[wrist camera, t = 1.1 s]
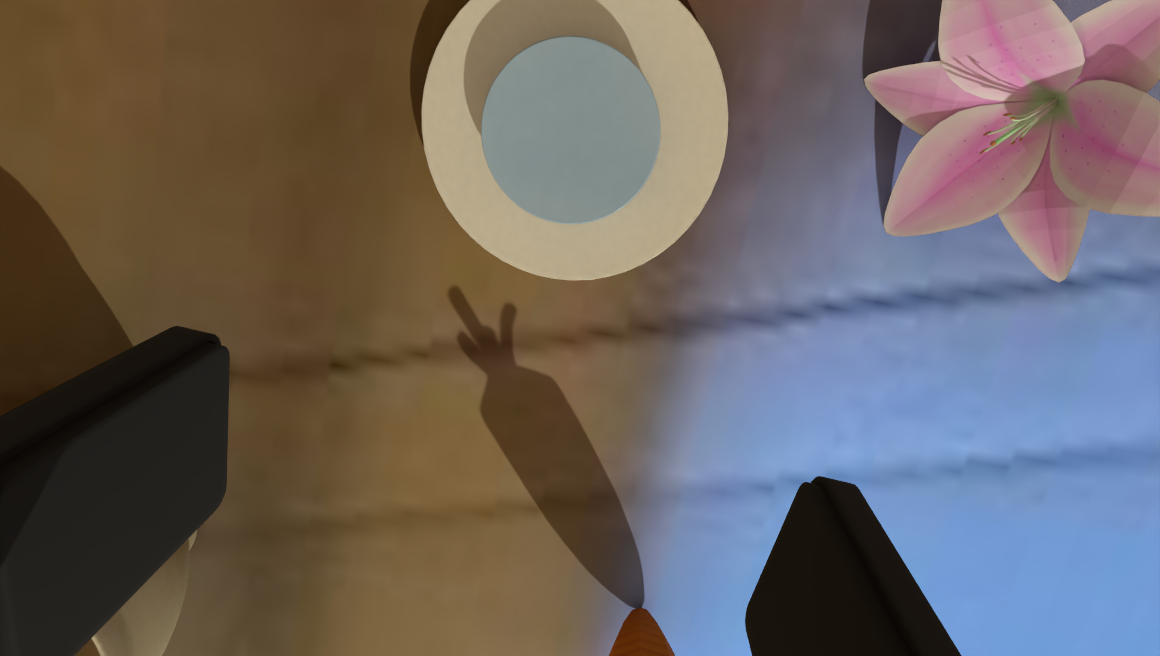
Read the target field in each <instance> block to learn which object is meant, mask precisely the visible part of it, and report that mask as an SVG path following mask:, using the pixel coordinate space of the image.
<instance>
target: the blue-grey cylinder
mask: <svg viewBox="0 0 1160 656" xmlns="http://www.w3.org/2000/svg"><path fill="white" fill-rule="evenodd" d="M660 137H661V124H660V116H659V110H658V106H657V103H656V99H655V96H654V94H653V92H652V89H651V87H650V85H649V83H648V82H647V80H646V78H645V76H644V75H643V74H642V72H641V71H640V70H639V69H638V67H637V66H636V65H635V64H634V63H633V62H632V61H631V60H630V59H629V58H628V57H627V56H625V55H624V54H623V53H621V52H620V51H619V50H617V49H615V48H614V47H612V46H610V45H608V44H606V43H604V42H601V41H599V40H596V39H592V38H588V37H583V36H572V35H570V36H557V37H552V38H548V39H544V40H542V41H539V42H536V43H534V44H532V45H530V46H528V47H526V48H525V49H523V50H522V51H520V52H519V53H518V54H516V55H515V56H514V57H513V58H512V59H511V60H510V61H509V62H507V63H506V64H505V66H504V67H503V68H502V69H501V71H500V72H499V73H498V75H497V76H496V78H495V80H494V81H493V83H492V85H491V87H490V89H489V92H488V94H487V96H486V100H485V103H484V107H483V112H482V119H481V139H482V147H483V151H484V156H485V159H486V162H487V164H488V167H489V170H490V172H491V174H492V175H493V177H494V179H495V181H496V182H497V184H498V185H499V187H500V188H501V190H502V191H503V192H504V193H505V194H506V195H507V196H508V198H509V199H511V200H512V201H513V202H514V203H515V204H516V205H517V206H519V207H520V208H522V209H523V210H525V211H526V212H528V213H530V214H532V215H533V216H535V217H538V218H540V219H543V220H546V221H549V222H554V223H558V224H569V225H570V224H584V223H590V222H594V221H597V220H600V219H603V218H605V217H607V216H610V215H612V214H614V213H615V212H617V211H618V210H620V209H621V208H623V207H624V206H625V205H627V204H628V203H629V202H630V201H631V200H632V199H633V198H634V197H635V196H636V195H637V194H638V193H639V192H640V190H641V189H642V187H643V186H644V185H645V183H646V182H647V180H648V178H649V176H650V174H651V172H652V170H653V167H654V165H655V162H656V159H657V155H658V151H659V146H660Z"/></svg>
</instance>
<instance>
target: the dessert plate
mask: <svg viewBox="0 0 1160 656" xmlns="http://www.w3.org/2000/svg"><path fill="white" fill-rule="evenodd" d="M570 35H572V36H583V37H588V38H592V39H596V40H599V41H601V42H604V43H606V44H608V45H610V46H612V47H614V48H615V49H617V50H619V51H620V52H621V53H623V54H624V55H625V56H627V57H628V58H629V59H630V60H631V61H632V62H633V63H634V64H635V65H636V66H637V67H638V69H639V70H640V71H641V72H642V74H643V75H644V76H645V78H646V80H647V82H648V83H649V85H650V87H651V89H652V92H653V94H654V96H655V99H656V103H657V106H658V110H659V116H660V124H661V137H660V146H659V151H658V155H657V159H656V162H655V165H654V167H653V170H652V172H651V174H650V176H649V178H648V180H647V182H646V183H645V185H644V186H643V187H642V189H641V190H640V192H639V193H638V194H637V195H636V196H635V197H634V198H633V199H632V200H631V201H630V202H629V203H628V204H627V205H625V206H624V207H623V208H621V209H620V210H618V211H617V212H615V213H614V214H612V215H610V216H607V217H605V218H603V219H600V220H597V221H594V222H590V223H584V224H570V225H569V224H558V223H554V222H549V221H546V220H543V219H540V218H538V217H535V216H533V215H532V214H530V213H528V212H526V211H525V210H523V209H522V208H520V207H519V206H517V205H516V204H515V203H514V202H513V201H512V200H511V199H509V198H508V196H507V195H506V194H505V193H504V192H503V191H502V190H501V188H500V187H499V185H498V184H497V182H496V181H495V179H494V177H493V175H492V174H491V172H490V170H489V167H488V164H487V162H486V159H485V156H484V151H483V147H482V139H481V119H482V112H483V107H484V103H485V100H486V96H487V94H488V92H489V89H490V87H491V85H492V83H493V81H494V80H495V78H496V76H497V75H498V73H499V72H500V71H501V69H502V68H503V67H504V66H505V64H506V63H507V62H509V61H510V60H511V59H512V58H513V57H514V56H515V55H516V54H518V53H519V52H520V51H522V50H523V49H525V48H526V47H528V46H530V45H532V44H534V43H536V42H539V41H542V40H544V39H548V38H552V37H557V36H570ZM421 113H422V136H423V143H424V151H425V154H426V158H427V162H428V166H429V170H430V173H431V175H432V178H433V180H434V183H435V185H436V188H437V190H438V192H439V194H440V195H441V197H442V199H443V201H444V203H445V205H446V207H447V208H448V209H449V211H450V212H451V214H452V215H453V216H454V218H455V219H456V221H457V222H458V223H459V224H460V226H461V227H462V228H463V229H464V230H465V231H466V232H467V233H468V234H469V235H470V237H471V238H473V239H474V240H475V241H476V242H477V243H478V244H480V245H481V246H482V247H483V248H484V249H485V250H487V251H488V252H490V253H491V254H493V255H494V256H496V257H497V258H499V259H500V260H502V261H504V262H506V263H508V264H510V265H512V266H514V267H516V268H518V269H521V270H523V271H526V272H529V273H532V274H535V275H539V276H543V277H548V278H552V279H562V280H591V279H598V278H604V277H609V276H612V275H616V274H619V273H623V272H626V271H628V270H631V269H633V268H635V267H637V266H640V265H642V264H644V263H646V262H647V261H649V260H651V259H652V258H654V257H656V256H657V255H659V254H660V253H662V252H663V251H664V250H665V249H667V248H668V247H669V246H670V245H672V244H673V243H674V242H675V241H676V240H677V239H678V238H679V237H680V236H681V235H682V234H683V233H684V232H685V231H686V230H687V229H688V228H689V227H690V225H691V224H692V223H693V222H694V220H695V219H696V218H697V216H698V215H699V214H700V212H701V211H702V209H703V207H704V206H705V204H706V202H707V200H708V199H709V197H710V195H711V193H712V191H713V188H714V186H715V184H716V181H717V179H718V177H719V173H720V170H721V166H722V163H723V160H724V156H725V149H726V143H727V137H728V105H727V94H726V89H725V84H724V80H723V76H722V71H721V68H720V66H719V63H718V60H717V58H716V55H715V52H714V50H713V48H712V46H711V44H710V42H709V40H708V38H707V36H706V34H705V33H704V31H703V29H702V28H701V26H700V25H699V24H698V22H697V21H696V19H695V18H694V17H693V15H692V14H691V13H690V11H689V10H688V9H687V8H686V7H685V6H684V5H683V4H682V3H681V2H680V1H679V0H469V1H468V2H467V3H466V4H465V6H464V7H463V8H462V9H461V10H460V11H459V12H458V13H457V15H456V16H455V18H454V19H453V20H452V22H451V23H450V24H449V26H448V27H447V29H446V31H445V32H444V34H443V36H442V38H441V40H440V42H439V43H438V45H437V47H436V50H435V52H434V55H433V58H432V60H431V63H430V65H429V69H428V73H427V77H426V81H425V85H424V91H423V100H422V109H421Z"/></svg>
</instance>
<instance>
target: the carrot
mask: <svg viewBox="0 0 1160 656" xmlns="http://www.w3.org/2000/svg"><path fill="white" fill-rule="evenodd" d="M609 656H675V655H674V652H673V651H672V649H671V647H670V645H669V643H668V641H667V639H666V638H665V636H664V634H663V632H662V631H661V629H660V627H659V626H658V624H657V622H656V621H655V620H654V618H653V617H652V616H651V614H650V613H649V612H648V611H647V610H646V609H643V608H640V607H639V608H636V609H634V610H632V611H631V612H630V614H629V615H628V617H627V618H626V620H625V621H624V623H623V625H622V627H621V629H620V632H619V634H618V636H617V638H616V641H615V643H614V645H613V647H612V650H611V652H610V654H609Z"/></svg>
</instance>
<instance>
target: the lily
mask: <svg viewBox="0 0 1160 656" xmlns="http://www.w3.org/2000/svg"><path fill="white" fill-rule="evenodd" d="M938 47H939V54H940V60H941V61H934V62H925V63H918V64H912V65H906V66H900V67H895V68H891V69H887V70H882V71H878V72H875V73H872V74H869V75H868V76H867V77H866V78H865V79H864V82H865V85H866V88H867V89H868V90H869V92H870V93H871V94H872V96H873V97H874V98H875V99H876V100H877V101H878V102H879V103H880V104H881V105H882V106H883V107H884V108H885V109H886V110H887V111H889V112H890V113H891V114H892V115H893V116H895V117H896V118H897V119H898V120H900V121H901V122H902V123H903V124H904V125H906V126H907V127H909V128H910V129H912V130H913V131H915V132H917V133H918V134H920V135H921V136H923V137H922V138H921V139H920V141H919V142H918V143H917V145H916V146H915V148H914V149H913V150H912V152H911V153H910V155H909V156H908V158H907V160H906V162H905V164H904V166H903V168H902V170H901V172H900V174H899V176H898V179H897V181H896V184H895V186H894V188H893V191H892V193H891V196H890V199H889V202H888V205H887V208H886V212H885V218H884V228H885V231H886V233H888V234H891V235H893V236H915V235H923V234H930V233H935V232H940V231H946V230H951V229H955V228H959V227H963V226H967V225H971V224H974V223H976V222H979V221H981V220H984V219H986V218H988V217H991V216H993V215H995V214H996V213H998V216H999V217H1000V219H1001V221H1002V222H1003V224H1004V226H1005V227H1006V229H1007V231H1008V233H1009V234H1010V235H1011V236H1012V238H1013V239H1014V240H1015V242H1016V243H1017V244H1018V246H1019V247H1020V248H1021V250H1022V251H1023V252H1024V253H1025V254H1026V256H1027V257H1028V258H1029V259H1030V260H1031V261H1032V262H1033V263H1034V265H1035V266H1036V267H1037V268H1038V269H1039V270H1040V271H1042V272H1043V273H1044V274H1045V275H1046V276H1047V277H1048V278H1050V279H1052V280H1054V281H1057V282H1061V281H1063V280H1064V279H1066V277H1067V275H1068V273H1069V271H1070V270H1071V268H1072V265H1073V262H1074V260H1075V257H1076V255H1077V252H1078V250H1079V246H1080V243H1081V240H1082V237H1083V234H1084V231H1085V227H1086V223H1087V219H1088V215H1089V211H1090V209H1092V210H1096V211H1100V212H1105V213H1109V214H1120V215H1134V216H1160V102H1159V101H1158V100H1156V99H1154V98H1153V97H1151V96H1150V95H1148V94H1147V92H1148V91H1149V90H1150V89H1151V88H1152V87H1153V86H1154V85H1155V84H1156V83H1157V82H1158V81H1159V79H1160V0H1111V1H1109V2H1107V3H1105V4H1103V5H1101V6H1099V7H1097V8H1095V9H1093V10H1091V11H1089V12H1088V13H1086V14H1084V15H1082V16H1080V17H1078V18H1077V19H1075V20H1074V21H1072V22H1071V23H1070V22H1069V20H1068V19H1067V18H1066V17H1065V15H1064V14H1063V13H1062V11H1061V10H1060V9H1059V7H1058V6H1057V5H1056V4H1055V2H1054V1H1053V0H942V6H941V13H940V22H939V38H938Z"/></svg>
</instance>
